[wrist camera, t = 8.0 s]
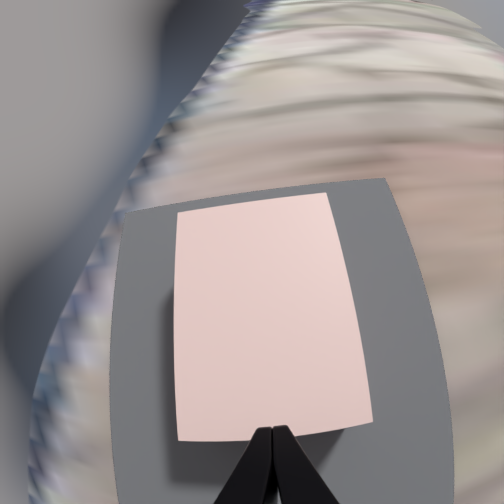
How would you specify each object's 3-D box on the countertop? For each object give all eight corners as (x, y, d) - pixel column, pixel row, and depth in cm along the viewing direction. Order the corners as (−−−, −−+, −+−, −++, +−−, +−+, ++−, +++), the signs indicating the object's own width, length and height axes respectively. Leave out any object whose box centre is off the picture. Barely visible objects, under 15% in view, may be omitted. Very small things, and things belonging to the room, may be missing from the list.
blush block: (373, 421, 9) (326, 192, 14) (178, 440, 9) (177, 212, 14) (351, 417, 12) (319, 237, 17) (206, 432, 13) (199, 252, 17)
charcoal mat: (440, 577, 6) (443, 579, 5) (148, 602, 7) (145, 605, 6) (383, 182, 19) (384, 178, 19) (128, 216, 20) (125, 212, 20)
